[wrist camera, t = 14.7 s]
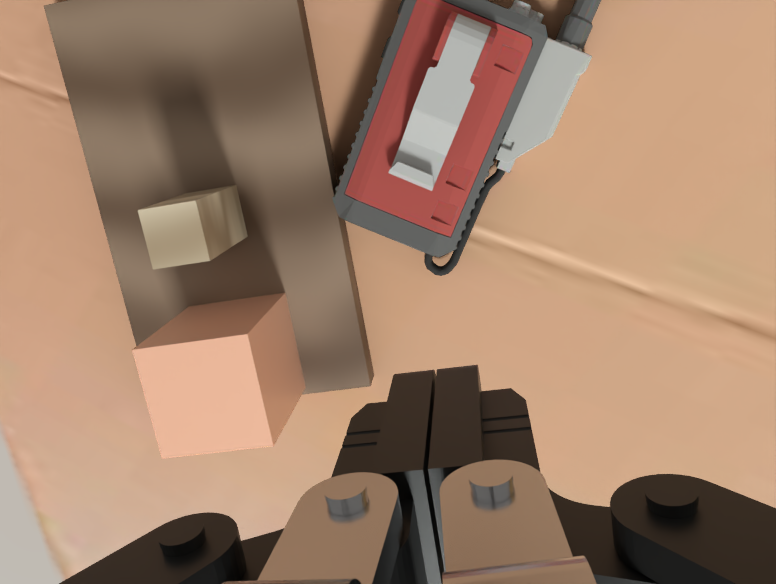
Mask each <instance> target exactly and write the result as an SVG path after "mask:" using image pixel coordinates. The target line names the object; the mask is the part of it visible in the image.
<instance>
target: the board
mask: <svg viewBox="0 0 776 584" xmlns="http://www.w3.org/2000/svg"><path fill="white" fill-rule="evenodd" d="M44 9H45V12H46V16H47V20H48V23H49V27H50V31H51V34H52V38H53V42H54V45H55V49H56V53H57V56H58V60H59V64H60V67H61V71H62V75H63V78H64V82H65V86H66V89H67V93H68V97H69V100H70V104H71V108H72V111H73V115H74V119H75V122H76V126H77V130H78V133H79V137H80V141H81V144H82V148H83V152H84V155H85V159H86V163H87V166H88V170H89V174H90V177H91V181H92V185H93V188H94V192H95V196H96V199H97V203H98V207H99V210H100V214H101V218H102V221H103V225H104V229H105V232H106V236H107V240H108V243H109V247H110V251H111V254H112V258H113V262H114V265H115V269H116V272H117V276H118V280H119V283H120V287H121V291H122V294H123V298H124V302H125V305H126V309H127V313H128V316H129V320H130V324H131V327H132V331H133V335H134V338H135V342H136V346H138V345H139V344H140V343H142V342H143V341H144V340H146V339H147V338H148V337H150V336H151V335H152V334H153V333H155V332H156V331H157V330H159V329H160V328H161V327H163V326H164V325H165V324H167V323H168V322H169V321H171V320H172V319H173V318H174V317H176V316H177V315H178V314H180V313H181V312H182V311H184V310H185V309H186V308H188V307H189V306H196V305H203V304H210V303H216V302H223V301H230V300H237V299H244V298H251V297H258V296H265V295H272V294H279V293H286V298H287V302H288V307H289V312H290V316H291V321H292V326H293V330H294V335H295V340H296V344H297V349H298V354H299V358H300V363H301V368H302V372H303V377H304V382H305V386H306V388H305V389H304V391H303V393H302V394H310V393H319V392H327V391H335V390H343V389H351V388H359V387H368V386H371V383H372V380H373V377H374V373H373V368H372V362H371V357H370V352H369V347H368V341H367V336H366V331H365V325H364V320H363V315H362V309H361V304H360V299H359V294H358V288H357V283H356V278H355V272H354V267H353V262H352V256H351V251H350V246H349V241H348V235H347V230H346V225H345V220H344V219H342V218H340V217H339V216H338V213H337V210H336V208H335V205H334V202H333V199H332V197H333V196H334V195H335V194H336V192H337V191H336V190H335V189H336V186H338V182H337V177H336V172H335V166H334V161H333V156H332V151H331V145H330V140H329V135H328V129H327V124H326V119H325V113H324V108H323V103H322V98H321V92H320V87H319V82H318V76H317V71H316V66H315V60H314V55H313V50H312V45H311V39H310V34H309V29H308V23H307V18H306V13H305V7H304V2H303V0H68V1H63V2H59V3H54V4H49V5H45V6H44Z"/></svg>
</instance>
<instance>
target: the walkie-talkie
mask: <svg viewBox="0 0 776 584" xmlns="http://www.w3.org/2000/svg"><path fill="white" fill-rule="evenodd" d="M600 2H601V0H576V1H575V3H574V5H573V8H572V10H571V12H570V15H567V16H566V17H565V19H564V21H563V24H562V26H561V28H560V31H559V33H558V35H557V38H556V40H552V39H550V38H548V36H547V31H546V26H545V25H543V24H541V22H542V20H543V17H544V15H543V14H541V13H539V12H537V11H534V10H531V6H530V5H529V4H526V3H524V2H522V1H519V0H514V2H513V5H512V7H511V8H509V9H506V8H504V7H501V6H499V5H496V4H494V3H491V2H489V1H487V0H402V2H401V4H400V7H399V10H398V14H399V17H398V20H397V23H396V25H395V28H394V31H393V34H392V36H391V37H389V38H388V40H387V42H386V45H385V48H384V51H383V53H382V56H381V57H382V58H383V61H382V64H381V66H380V69H379V72H378V74H377V77H376V79H377V83H376V86H375V87H373V88H372V91H373V94H372V97H371V98H369V99H368V102H369V105H368V107H367V109H366V110H364V114H365V116H364V118H363V120H362V121H360V125H361V127H360V129H359V131H358V132H356V134H355V136H356V140H355V142H354V143H352V145H351V147H352V151H351V153H350V154H348V156H347V158H348V162H347V164H345V165H344V167H343V169H344V173H343V174H342V175H341V176H340V178H339V179H340V180H341V181H340V183H339V185H338V186H336V189H335V190H336V191H337V192H336V194H335V195H334V196H333V197H332V199H333V202H334V205H335V208H336V210H337V213H338V216H339V217H340V218H342V219H344V220H346V221H348V222H351V223H353V224H355V225H358V226H360V227H363V228H365V229H368V230H370V231H373V232H375V233H378V234H380V235H382V236H385V237H387V238H390V239H392V240H395V241H397V242H400V243H402V244H405V245H407V246H410V247H412V248H414V249H417V250H419V251H422V252H424V253H425V265H426V267H427V269H428V270H430V271H431V272H432V273H434V274H435V275H440V276H442V275H446V274H448V273H449V272H451V271H452V269H453V268H454V267H455V266H456V265H457V263H458V261H459V258H460V256H461V254H462V251H463V249H464V247H465V244H466V242H467V240H468V237H469V235H470V233H471V230H472V228H473V226H474V223H475V221H476V219H477V216H478V214H479V212H480V210H481V207H482V205H483V203H484V201H485V199H486V197H487V195H488V192H489V190H490V189H491V188H492V186H493V185H495V184H496V183H497V182H498V181H500V179H501V178H502V176H503V175H504V173H505V171H506V172H508V173H510V171H511V169H512V166H513V164H514V162H515V159H516V158H517V157H519V156H521V155H523V154H524V153H526V152H528V151H529V150H531V149H533V148H534V147H536V146H538V145H539V144H541V143H543V142H544V141H546V140H548V139H549V138H551V137H552V136H553V134H554V132H555V129H556V127H557V125H558V123H559V121H560V118H561V116H562V114H563V112H564V110H565V107H566V105H567V103H568V101H569V99H570V96H571V94H572V92H573V90H574V88H575V86H576V83H577V81H578V79H579V77H580V75H581V74H582V73H584V72H585V71H586V69H587V67H588V65H589V62H590V60H591V58H592V56H591V55H589V54H587V53H584V52H582V50H583V48H584V45H585V43H586V41H587V38H588V36H589V34H590V31H591V29H592V27H593V26H592V23H591V22H592V20H593V17H594V15H595V13H596V11H597V8H598V6H599V4H600ZM494 157H495V159H497V160H498V162H497V164H496V167H497V170H496V172H495V173H494V174H493V175H492V176H491V177H490V178H488V179H487V180H486V182H485V183H484V180H485V177H488V175H489V171H488V170H489V168H490V166H492V165H493V164H494V161H493V159H494ZM480 189H481V190H480ZM451 251H454V252H453V254H452V257H451V258H450V260H449V262H447V263H446V264H445V265H444V266H437V265H436V264H435V263H434V262H433V261H432V257H433V256H436V257H441V256H443V255H445V254H447V253H449V252H451Z"/></svg>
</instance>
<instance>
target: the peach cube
mask: <svg viewBox="0 0 776 584" xmlns="http://www.w3.org/2000/svg"><path fill="white" fill-rule="evenodd" d="M132 352H133V355H134V359H135V363H136V366H137V370H138V374H139V377H140V381H141V384H142V388H143V392H144V395H145V399H146V403H147V406H148V410H149V414H150V417H151V421H152V424H153V428H154V432H155V435H156V439H157V443H158V446H159V450H160V454H161V457H162V459H165V458H173V457H182V456H191V455H200V454H209V453H218V452H227V451H236V450H245V449H254V448H263V447H271V446H274V444H275V442H276V441H277V439H278V437H279V435H280V433H281V431H282V430H283V428H284V426H285V424H286V422H287V421H288V419H289V417H290V415H291V413H292V411H293V410H294V408H295V406H296V404H297V402H298V400H299V399H300V397H301V395H302V393H303V391H304V389H305V388H306V386H305V382H304V377H303V372H302V368H301V363H300V358H299V354H298V349H297V344H296V340H295V335H294V330H293V326H292V321H291V316H290V312H289V307H288V302H287V298H286V293H279V294H272V295H265V296H258V297H251V298H244V299H237V300H230V301H223V302H216V303H210V304H203V305H196V306H189V307H188V308H186V309H185V310H184V311H182V312H181V313H180V314H178V315H177V316H176V317H174V318H173V319H172V320H171V321H169V322H168V323H167V324H165V325H164V326H163V327H161V328H160V329H159V330H157V331H156V332H155V333H153V334H152V335H151V336H150V337H148V338H147V339H146V340H144V341H143V342H142V343H140V344H139V345H138V346H136V347H135V348H134V349H132Z"/></svg>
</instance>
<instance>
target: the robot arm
mask: <svg viewBox="0 0 776 584" xmlns="http://www.w3.org/2000/svg"><path fill="white" fill-rule="evenodd" d="M59 584H776V508H773V507H771V506H768V505H766V504H763V503H761V502H758V501H756V500H753V499H751V498H748V497H746V496H743V495H741V494H738V493H736V492H733V491H731V490H728V489H726V488H723V487H721V486H718V485H716V484H713V483H711V482H708V481H705V480H702V479H699V478H695V477H691V476H685V475H676V474H657V475H649V476H644V477H639V478H636V479H633V480H631V481H629V482H627V483H625V484H623V485H622V486H620V487H619V488H618V489H617V490H616V491H615V492H614V494H613V495H612V497H611V501H610V507H603V506H594V505H588V504H582V503H578V502H574V501H571V500H568V499H565V498H563V497H561V496H559V495H557V494H556V493H554V492H553V491H551V490H550V489H549V488H548V486H547V484H546V481H545V479H544V477H543V475H542V474H541V473H540V468H539V463H538V458H537V453H536V449H535V444H534V439H533V434H532V430H531V424H530V419H529V414H528V409H527V404H526V400H525V399H524V398H523V397H521V396H520V395H519V394H518V393H516V392H515V391H514V390H512V389H511V388H509V389H500V390H491V391H481V383H480V376H479V370H478V365H472V366H463V367H454V368H445V369H437V375H436V374H435V371H434V370H428V371H419V372H410V373H401V374H394V376H393V379H392V383H391V388H390V392H389V396H388V400H387V402H379V403H369V404H366V405H365V406H364V407H363V408H362V409H361V410H360V411H359V412H358V413H356V414H355V415H354V416H353V417H352V418H351V421H350V424H349V427H348V430H347V436H345V439H344V442H343V445H342V449H341V450H340V453H339V456H338V459H337V462H336V465H335V468H334V471H333V474H332V477H331V478H329V479H327V480H324V481H322V482H320V483H318V484H317V485H315V486H313V487H312V488H310V489H309V490H308V491H307V492H306V493H305V494H304V495H303V496H302V497H301V498H300V500H299V501H298V503H297V505H296V507H295V509H294V511H293V513H292V515H291V517H290V519H289V521H288V522H287V524H286V526H285V528H284V529H281V530H278V531H275V532H272V533H268V534H264V535H261V536H257V537H254V538H250V539H247V540H243V541H241V539H240V535H239V531H238V527H237V524H236V522H235V521H234V520H233V519H232V518H230V517H229V516H226V515H224V514H219V513H198V514H192V515H188V516H184V517H181V518H178V519H175V520H172V521H170V522H168V523H165V524H163V525H162V526H160V527H158V528H156V529H154V530H152V531H151V532H149V533H147V534H145V535H144V536H142V537H140V538H138V539H137V540H135V541H133V542H131V543H130V544H128V545H126V546H124V547H123V548H121V549H119V550H117V551H116V552H114V553H112V554H110V555H109V556H107V557H105V558H103V559H102V560H100V561H98V562H96V563H95V564H93V565H91V566H89V567H88V568H86V569H84V570H82V571H81V572H79V573H77V574H75V575H73V576H72V577H70V578H68V579H66V580H65V581H63V582H61V583H59Z"/></svg>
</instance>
